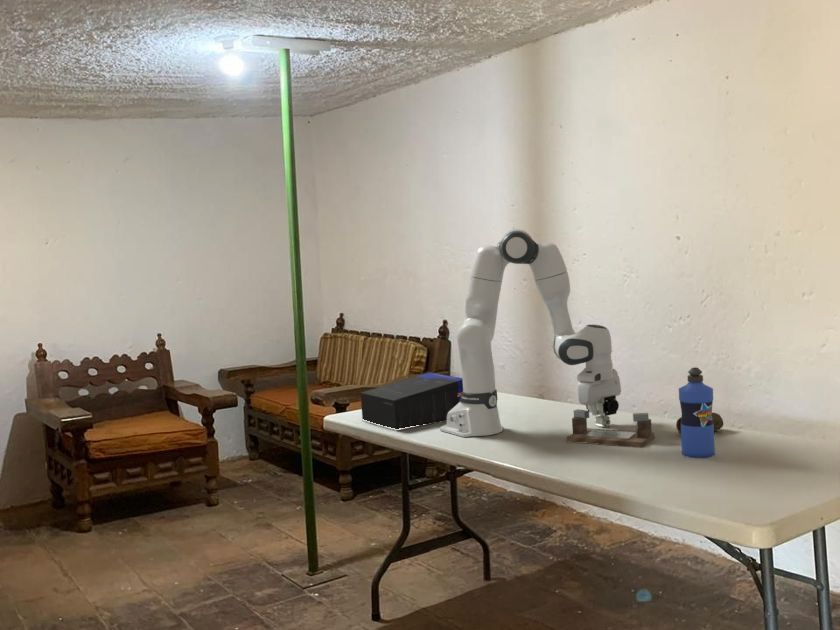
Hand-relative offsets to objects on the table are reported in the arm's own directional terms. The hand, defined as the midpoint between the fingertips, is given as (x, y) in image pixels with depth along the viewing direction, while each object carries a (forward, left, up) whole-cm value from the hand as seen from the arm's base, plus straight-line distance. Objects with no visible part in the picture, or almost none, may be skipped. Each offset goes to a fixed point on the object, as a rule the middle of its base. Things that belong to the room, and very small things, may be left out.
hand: (601, 413), depth 276 cm
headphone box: (-67, -22, -5) cm, 71 cm away
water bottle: (+42, -14, -5) cm, 45 cm away
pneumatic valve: (0, 0, -5) cm, 5 cm away
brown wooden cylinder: (+31, +8, -5) cm, 33 cm away
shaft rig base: (+12, -13, -5) cm, 18 cm away
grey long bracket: (+12, -13, -3) cm, 18 cm away
